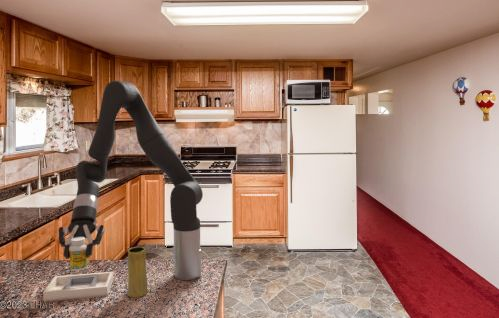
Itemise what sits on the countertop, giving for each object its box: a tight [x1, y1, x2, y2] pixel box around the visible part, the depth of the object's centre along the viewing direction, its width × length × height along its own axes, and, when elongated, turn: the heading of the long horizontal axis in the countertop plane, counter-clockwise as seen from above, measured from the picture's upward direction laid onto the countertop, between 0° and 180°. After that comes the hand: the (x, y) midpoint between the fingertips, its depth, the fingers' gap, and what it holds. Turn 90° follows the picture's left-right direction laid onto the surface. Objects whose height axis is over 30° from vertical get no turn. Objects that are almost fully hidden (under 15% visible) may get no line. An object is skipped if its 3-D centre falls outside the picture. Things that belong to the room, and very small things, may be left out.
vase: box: [127, 246, 149, 298], centre depth 108 cm, size 6×6×14 cm
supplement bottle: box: [69, 237, 90, 272], centre depth 109 cm, size 5×5×10 cm
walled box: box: [42, 271, 114, 303], centre depth 110 cm, size 18×11×3 cm, turn 103°
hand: (77, 257), depth 107 cm, fingers closed on supplement bottle, 5 cm apart
